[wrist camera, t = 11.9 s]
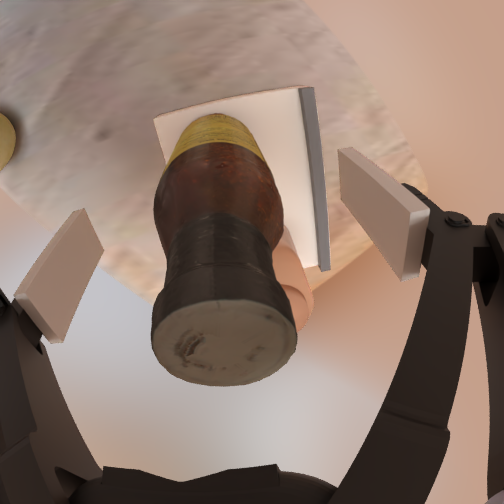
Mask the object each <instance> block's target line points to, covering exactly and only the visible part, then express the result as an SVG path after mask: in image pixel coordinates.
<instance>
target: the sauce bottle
mask: <svg viewBox="0 0 504 504" xmlns="http://www.w3.org/2000/svg"><path fill="white" fill-rule="evenodd" d="M153 210H154V220H155V225H156V228H157V231H158V234H159V238H160V241H161V244H162V247H163V250H164V253H165V256H166V259H167V271H166V277H165V283H164V288H163V289H162V291H161V292H160V293H159V294H158V296H157V298H156V301H155V303H154V306H153V312H152V328H151V344H152V349H153V351H154V354H155V356H156V357H157V359H158V361H159V363H160V364H161V365H162V366H163V367H164V368H166V370H167V371H168V372H169V373H170V374H172V375H174V376H175V377H177V378H180V379H182V380H185V381H187V382H191V383H195V384H201V385H207V386H237V385H246V384H250V383H253V382H257V381H260V380H262V379H263V378H266V377H268V376H270V375H272V374H273V373H275V372H277V371H278V370H279V369H280V368H281V367H282V366H284V365H285V364H286V363H287V362H288V360H289V359H290V357H291V356H292V354H293V353H294V352H295V350H296V344H297V330H296V325H295V320H294V316H293V313H292V308H291V304H290V300H289V299H288V297H287V295H286V293H285V291H284V289H283V288H282V286H281V284H280V283H279V282H278V281H277V279H276V276H275V271H274V268H273V265H272V264H273V259H272V252H273V251H274V249H275V248H276V246H277V245H278V243H279V241H280V239H281V237H282V235H283V232H284V221H283V220H284V213H283V212H284V209H283V205H282V200H281V196H280V194H279V191H278V188H277V187H276V185H275V180H274V177H273V174H272V172H271V170H270V168H269V166H268V164H267V162H266V160H265V158H264V156H263V154H262V152H261V150H260V148H259V146H258V144H257V143H256V141H255V139H254V137H253V135H252V133H250V131H249V129H248V128H247V127H246V126H245V125H244V124H243V123H242V122H241V121H239V120H237V119H235V118H234V117H231V116H228V115H225V114H222V113H214V114H210V115H206V116H203V117H201V118H198V119H197V120H195V121H193V122H192V123H191V124H190V125H189V126H187V127H186V129H185V130H184V131H183V132H182V134H181V136H180V138H179V140H178V142H177V144H176V146H175V148H174V150H173V152H172V154H171V156H170V159H169V161H168V163H167V165H166V167H165V170H164V172H163V174H162V177H161V179H160V182H159V184H158V187H157V190H156V194H155V198H154V208H153Z"/></svg>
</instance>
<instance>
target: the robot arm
mask: <svg viewBox="0 0 504 504" xmlns="http://www.w3.org/2000/svg"><path fill="white" fill-rule="evenodd" d="M338 160H339V174H340V192H341V200H342V201H343V203H344V204H345V205H346V207H347V208H348V209H349V210H350V212H351V213H352V214H353V216H354V217H355V218H356V219H357V221H358V222H359V223H360V225H361V226H362V227H363V229H364V230H365V231H366V233H367V234H368V235H369V237H370V238H371V240H372V241H373V242H374V244H375V245H376V246H377V247H378V249H379V251H380V252H381V253H382V255H383V256H384V258H385V259H386V260H387V262H388V263H389V265H390V266H391V267H392V269H393V271H394V272H395V274H396V275H397V277H398V278H399V280H400V281H401V282H402V281H405V280H409V279H413V278H416V277H418V276H419V273H420V268H421V263H422V265H423V266H424V267H425V268H426V270H427V272H426V276H425V281H424V285H423V289H422V292H421V296H420V300H419V304H418V307H417V310H416V314H415V317H414V321H413V324H412V327H411V330H410V333H409V336H408V339H407V343H406V346H405V348H404V351H403V354H402V357H401V359H400V362H399V365H398V368H397V370H396V373H395V375H394V378H393V381H392V383H391V385H390V388H389V390H388V393H387V395H386V397H385V399H384V402H383V404H382V406H381V408H380V410H379V413H378V415H377V417H376V419H375V421H374V423H373V425H372V427H371V429H370V431H369V433H368V435H367V437H366V439H365V441H364V443H363V445H362V447H361V449H360V451H359V453H358V454H357V456H356V458H355V460H354V461H353V463H352V465H351V467H350V468H349V470H348V472H347V474H346V475H345V477H344V479H343V480H342V482H341V484H340V485H339V487H338V488H337V487H335V486H333V485H331V484H329V483H328V482H325V481H323V480H321V479H318V478H316V477H312V476H309V475H305V474H300V473H294V472H283V471H280V469H279V467H278V466H277V464H273V465H266V466H258V467H249V468H239V469H228V470H225V471H221V472H219V473H215V474H211V475H208V476H205V477H200V478H197V479H193V480H189V481H185V482H177V481H173V480H170V479H166V478H163V477H160V476H156V475H153V474H150V473H147V472H144V471H141V470H136V469H124V468H115V467H107V466H103V471H102V470H101V469H100V468H99V466H98V465H97V463H96V462H95V460H94V458H93V456H92V455H91V453H90V451H89V449H88V447H87V445H86V444H85V442H84V440H83V438H82V436H81V434H80V432H79V430H78V428H77V426H76V424H75V422H74V420H73V417H72V415H71V413H70V411H69V409H68V407H67V404H66V402H65V399H64V397H63V395H62V392H61V390H60V387H59V385H58V382H57V380H56V377H55V374H54V372H53V369H52V366H51V363H50V361H49V357H48V354H47V351H46V348H45V346H44V345H43V343H42V342H41V341H40V339H41V337H42V334H43V335H44V336H45V338H46V339H47V340H48V341H49V342H50V343H51V344H53V343H63V341H64V338H65V336H66V333H67V331H68V328H69V326H70V323H71V321H72V319H73V316H74V314H75V311H76V309H77V307H78V304H79V302H80V300H81V297H82V295H83V293H84V291H85V289H86V287H87V285H88V282H89V280H90V278H91V276H92V274H93V272H94V270H95V268H96V266H97V264H98V262H99V260H100V258H101V256H102V254H103V252H104V249H103V247H102V245H101V243H100V241H99V239H98V237H97V235H96V233H95V231H94V228H93V226H92V224H91V222H90V220H89V218H88V215H87V213H86V211H85V209H84V208H83V209H80V210H77V211H74V212H73V213H72V214H71V215H70V217H69V218H68V219H67V220H66V221H65V223H64V224H63V225H62V227H61V228H60V229H59V230H58V232H57V233H56V234H55V236H54V237H53V238H52V240H51V241H50V242H49V244H48V245H47V246H46V248H45V249H44V251H43V252H42V253H41V255H40V256H39V257H38V259H37V260H36V262H35V263H34V264H33V266H32V268H31V269H30V270H29V272H28V273H27V275H26V276H25V278H24V279H23V281H22V283H21V284H20V286H19V287H18V289H17V291H16V292H15V294H14V297H15V298H14V300H13V301H12V303H10V301H9V300H8V299H7V297H6V296H5V294H4V293H3V292H2V290H1V289H0V504H425V502H426V500H427V497H428V495H429V493H430V491H431V488H432V486H433V484H434V482H435V479H436V477H437V474H438V472H439V470H440V467H441V464H442V462H443V459H444V456H445V454H446V451H447V447H448V444H449V440H450V431H449V430H448V428H447V424H448V420H449V416H450V413H451V409H452V405H453V402H454V397H455V394H456V390H457V386H458V381H459V377H460V372H461V367H462V362H463V357H464V351H465V345H466V339H467V332H468V324H469V315H470V306H471V293H472V282H473V286H474V290H475V294H476V299H477V304H478V309H479V314H480V319H481V325H482V331H483V337H484V344H485V352H486V361H487V369H488V383H489V404H490V436H489V455H488V472H487V495H488V501H487V502H486V503H485V504H504V214H500V213H492V214H490V215H489V217H488V220H487V225H486V226H484V225H472V222H471V221H470V220H469V219H468V218H467V217H466V216H464V215H463V214H460V213H457V212H452V211H446V212H444V211H442V210H441V209H440V208H439V207H438V206H437V205H436V204H434V203H433V202H432V201H431V200H429V199H428V198H427V197H426V196H425V195H424V194H423V195H422V193H421V192H420V191H419V190H417V189H416V188H415V187H413V186H410V185H408V184H406V183H402V184H400V183H399V182H398V181H397V180H395V179H394V178H393V177H392V176H390V175H389V174H388V173H386V172H385V171H384V170H383V169H381V168H380V167H379V166H377V165H376V164H375V163H373V162H372V161H371V160H369V159H368V158H367V157H365V156H364V155H362V154H361V153H360V152H358V151H357V150H355V149H354V148H353V147H349V148H341V149H338Z"/></svg>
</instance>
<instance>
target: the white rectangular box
mask: <svg viewBox="0 0 504 504" xmlns="http://www.w3.org/2000/svg"><path fill="white" fill-rule="evenodd" d="M214 113H222V114H225V115H228V116H231V117H234V118H235V119H237V120H239V121H241V122H242V123H243V124H244V125H245V126H246V127H247V128H248V129H249V131H250V133H252V135H253V137H254V139H255V141H256V143H257V144H258V146H259V148H260V150H261V152H262V154H263V156H264V158H265V160H266V162H267V164H268V166H269V168H270V170H271V172H272V174H273V177H274V180H275V185H276V187H277V188H278V191H279V194H280V196H281V200H282V205H283V209H284V212H283V213H284V220H283V221H284V225H285V226H286V227H287V228H288V230H289V232H290V235H291V237H292V240H293V242H294V245H295V248H296V250H297V253H298V256H299V259H300V261H301V264H302V267H303V268H307V267H312V266H316V265H318V266H319V268H320V270H321V272H323V271H328V270H330V264H331V263H330V240H329V222H328V207H327V194H326V182H325V171H324V161H323V151H322V142H321V134H320V126H319V118H318V110H317V103H316V96H315V92H314V87H308V86H295V87H287V88H280V89H273V90H267V91H261V92H255V93H249V94H244V95H239V96H234V97H229V98H224V99H219V100H215V101H211V102H206V103H202V104H198V105H194V106H190V107H187V108H183V109H179V110H176V111H172V112H169V113H165V114H162V115H159V116H157V117H156V118H154V119H153V121H154V124H155V128H156V131H157V135H158V138H159V142H160V145H161V149H162V152H163V155H164V159H165V162H166V165H167V163H168V161H169V159H170V156H171V154H172V152H173V150H174V148H175V146H176V144H177V142H178V140H179V138H180V136H181V134H182V132H183V131H184V130H185V129H186V127H187V126H189V125H190V124H191V123H192V122H193V121H195V120H197V119H198V118H201V117H203V116H206V115H210V114H214Z"/></svg>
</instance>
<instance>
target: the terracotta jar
mask: <svg viewBox="0 0 504 504" xmlns="http://www.w3.org/2000/svg"><path fill="white" fill-rule="evenodd" d="M272 259H273V264H272V265H273V268H274V271H275V276H276V279H277V281H278V282H279V283H280V284H281V286H282V288H283V289H284V291H285V293H286V295H287V297H288V299H289V300H290V304H291V308H292V313H293V316H294V320H295V325H296V330H297V332H298V331H300V330H301V329H302V328H303V327H304V326H305V324H306V323H307V321H308V318H309V316H310V314H311V313H312V310H313V307H314V298H313V294H312V292H311V289H310V286H309V283H308V280H307V278H306V275H305V272H304V269H303V267H302V264H301V261H300V259H299V256H298V253H297V250H296V248H295V245H294V242H293V240H292V237H291V235H290V232H289V230H288V228H287V227H286V226H285V225H284V232H283V235H282V237H281V239H280V241H279V243H278V245H277V246H276V248H275V249H274V251H273V252H272Z"/></svg>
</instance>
